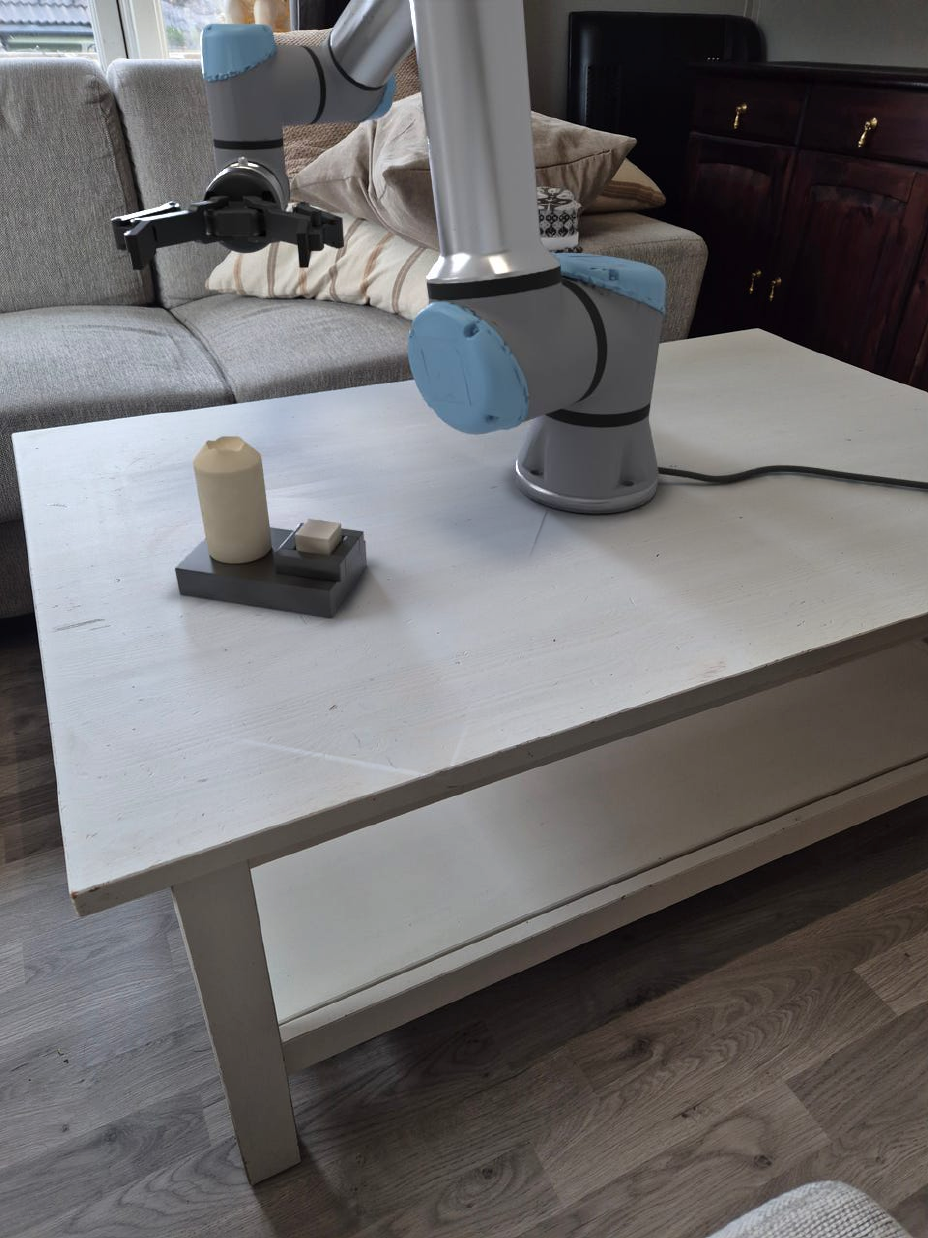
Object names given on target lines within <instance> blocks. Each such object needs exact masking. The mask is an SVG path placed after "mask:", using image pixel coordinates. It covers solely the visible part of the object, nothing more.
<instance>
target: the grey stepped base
mask: <svg viewBox="0 0 928 1238" xmlns="http://www.w3.org/2000/svg"><path fill="white" fill-rule="evenodd" d="M305 523H306V522H300V523H299V524H298V525H297V526H296V528H295V529H287V528H278V527H272V526H270V533H271V549H270V551H269V552H268V553H267V554H266V555H264V556H263V557H261V558H259V559H257V560H254V561H250V562H246V563H224V562H220V561H217V560H215V559H214V558H212V557H211V556H210V554H209V551H208V548H207V542H206V537H205V538H204V539H203V540H201V542H200V543H198V544H197V546H195V548H194V549H192V551H190V553H189V554H188V555H186V556H185V558H183V559H182V561H180V562H179V563H178V564H177V565H176V566H175V568H174V572H175V577H176V582H177V587H178V593H179V595H181V596H186V597H193V598H198V599H206V600H212V601H219V602H224V603H230V604H237V605H243V606H250V607H255V608H262V609H267V610H268V609H269V610H275V611H280V612H281V611H282V612H287V613H294V614H301V615H305V616H307V615H308V616H313V617H318V618H325V619H333V617H334V616H335V614H336V613H337V611H338V610H339V608H340V607H341V605H342V604H343V602H344V600H345V599H346V598H347V596H348V594H349V593H350V591H351V590H352V588H353V587H354V586H355V584H356V583H357V582H358V580H359V578H360V577H361V576H362V574H363V572H364V571H365V569H366V567H368V563H367V562H368V561H367V543H366V540H365V531H364V530H357V529H349V528H343V527H341V529H342V542H341V543H340V545H339V546H338V547H337V549H336V550H335V551H334V553H333V554H332V555H331V556H330V555H323V554H316V553H309V552H302V551H297V548H296V539H295V534H296V533H297V532H298V531H299V530H300V528H301V527H302V526H303V525H304V524H305Z"/></svg>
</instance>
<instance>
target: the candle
mask: <svg viewBox="0 0 928 1238" xmlns="http://www.w3.org/2000/svg"><path fill="white" fill-rule="evenodd" d="M262 459H263V458H262V454H261V452H259V451H258V450H257V449H255V448H254V447H253V446H252V445H251V444H249V443H248V442H246V441H244V439H242V438H241V436H238V435H234V436H232V435H231V436H229V435H224V436H219V437H218V438H216V439H215V440H206V441H205V443H204V444H203V446H202V447H201V449H200V450H199V452H197V454H196V455H195V456H194V458H193V459H192V464H193V466H192V467H193V472H194V478H195V484H196V489H197V495H198V501H199V506H200V507H199V508H200V512H201V518H202V525H203V531H204V536H205V538H206V542H207V548H208V551H209V554H210V556H211V557H212V558H214V559H215V560H217V561H220V562H224V563H246V562H250V561H254V560H257V559H259V558H261V557H263V556H264V555H266V554H267V553H268V552H269V551H270V549H271V533H270V527H271V526H270V524H271V523H270V518H269V517H270V516H269V508H268V501H267V492H266V484H265V476H264V475H265V474H264V468H263V460H262Z"/></svg>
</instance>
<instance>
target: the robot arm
mask: <svg viewBox="0 0 928 1238" xmlns="http://www.w3.org/2000/svg"><path fill="white" fill-rule="evenodd" d="M524 12H525V11H524V0H350V1H349V2H348V4H347V5H346V7H345V9H344V10H343V12H342V13H341V14H340V16H339V17H338V19H337V21H336V23H335V25H333V27H332V29H331V30H330V31H329V33H328V35H327V36H326V38H325V39H324V40H323V42H322V43H320V44H317V45H297V44H277V42H276V41H275V35H274V31H273V29H272V27H270V26H269V25H268V24H265V23H264V24H263V23H253V24H252V23H209V24H206V25H205V26H204V28H202V30H201V33H200V54H201V69H202V79H203V81H204V82H203V83H204V88H205V94H206V102H207V108H208V114H209V121H210V126H211V134H212V144H213V146H212V148H213V149H212V150H213V156H214V157H213V158H214V164H215V172H216V177H215V178H214V179H213V180H212V181H211V183H210V184H209V185H208V186H207V188H206V190H205V192H204V195H203V198H202V201H198V202H193V203H190V204H188V207H187V209H186V210H182V206H181V205H179V203H178V202H175V201H169V202H167V203H164V204H163V205H161V206H158V207H154V208H150V209H146V210H142V211H138V212H135V213H131V214H127V215H126V214H125V215H122V216H115V217H114V218H111V219H110V223H111V226H112V232H113V237H114V242H115V247H116V250H118V251H122V252H124V251H126V252H127V253H128V254H129V255H130V260H131V265H132V266H131V267H132V270H133V271H143V270H145V268H146V267H147V265H148V264H149V263H150V262H151V260H153V258H154V257H155V256H156V255H157V253H158V251H157V249H162V248H166V247H172V246H176V245H182V244H186V243H191V242H194V243H197V244H202V245H209V244H214V243H218V244H220V245H221V246H222V247H224V248H226V249H227V250H229V251H231V252H234V253H240V254H252V253H253V254H254V253H257V252H260V251H262V250H263V249H265V248H266V247H268V246H269V245H270V244H275V243H280V242H283V243H286V244H291V245H295V246H296V247H297V255H298V256H297V257H298V264H299V265H298V267H299V269H309V267H310V262H311V256H312V252H322V251H323V250H324V249H325V245H326V246H328V247H330V248H333V249H336V250H339V249H343V248H345V238H344V237H345V236H344V220H343V217H341V216H340V215H336V214H333V213H330V212H327V211H325V210H322V209H320V208H317V207H314V206H311V205H310V202H306V201H304V200H303V201H302V200H301V201H298V202H296V204H292V205H291V208H292V209H291V210H289V211H287V209H288V207H289V202H290V201H291V184H290V178H289V176H288V174H287V169H286V158H285V144H284V127H293V126H310V125H326V124H327V125H329V124H346V123H348V124H363V123H365V122H366V121H372V120H379V119H381V118H383V117H385V115H386V114H388V112H389V111H390V110H391V108H392V107H393V103H394V102H393V98H394V96H395V95H396V91H397V78H396V71H397V70H398V69H399V68H400V66H401V65H402V64H403V63H404V61H405V60H406V59H407V57H408V56H409V55H410V54H411V52H412V51H413V49H415V53H416V63H417V69H418V77H419V79H418V80H419V86H420V94H421V95H420V96H421V103H422V111H423V112H422V113H423V119H424V127H425V137H426V143H427V144H426V145H427V152H428V161H429V167H430V168H429V169H430V177H431V186H432V193H433V202H434V209H435V210H434V211H435V218H436V227H437V236H438V244H439V256H438V259H437V261H436V262H435V264H434V265H433V266H432V268H431V270H430V271H429V272H428V274H427V276H426V277H425V282H426V289H427V299H428V304H427V305H425V306H424V307H423V308H422V309H421V310H419V312H418V313H417V314H416V315H415V316H414V318H413V320H412V322H411V329H410V330H409V331H408V335H407V347H406V348H407V357H408V364H409V368H410V371H411V374H412V378H413V381H414V383H415V386H416V387H417V389H418V392H419V393H420V395H421V397H422V399H423V400H424V402H425V403H426V405H427V406H428V407H429V408H431V409H432V410H433V411H434V413H435V415H436V416H437V417H438V418H439V419H440V420H441V421H442V422H443V423H445V424H446V425H447V426H449V427H450V428H452V429H454V430H455V431H458V432H459V433H460V432H461V433H463V434H467V435H474V436H475V435H477V436H479V435H486V434H490V433H493V432H497V431H500V430H501V431H507V430H511V429H514V428H517V427H518V426H520V425H522V423H523V424H524V423H525V422H528V421H531V422H530V423H531V424H530V426H529V428H528V430H527V434H526V436H525V438H524V441H523V443H522V446H521V447H520V448H521V449H520V451H519V453H518V456H517V459H516V461H515V474H514V475H515V478H514V480H515V484H516V486H517V488H518V489H519V490H520V491H521V492H522V493H523V494H524V495H525V496H527V497H528V498H530V499H531V500H533V501H534V502H537V503H539V504H541V505H544V506H546V507H549V508H553V509H556V510H559V511H560V510H561V511H565V512H570V513H578V514H579V513H580V514H597V515H598V514H612V513H613V514H614V513H620V512H625V511H630V510H632V509H635V508H638V507H641V506H642V505H644V504H646V503H648V502H649V501H650V500H651V499H652V498H653V497H654V496H655V494H656V491H657V490H658V489H657V487H658V481H659V475H665V476H671V477H672V476H673V477H678V478H686V479H691V480H696V481H699V482H705V483H713V484H714V483H717V484H718V483H719V484H720V483H730V482H736V481H740V480H745V479H748V478H751V477H754V476H758V475H762V474H768V473H769V474H771V473H797V474H799V473H800V474H807V475H808V474H809V475H815V476H821V477H829V478H835V479H840V480H841V479H842V480H850V481H857V482H865V483H872V484H873V483H874V484H881V485H889V486H897V487H905V488H912V489H920V490H928V482H927V481H919V480H911V479H903V478H895V477H887V476H879V475H873V474H872V475H871V474H864V473H854V472H847V471H840V470H835V469H834V470H833V469H828V468H826V469H825V468H822V467H821V468H820V467H813V466H806V465H805V466H804V465H791V464H775V465H774V464H773V465H765V466H760V467H755V468H752V469H748V470H745V471H741V472H737V473H732V474H724V475H711V474H704V473H700V472H695V471H690V470H685V469H677V468H672V467H671V468H669V467H664V466H659V465H658V460H657V455H656V450H655V445H654V439H653V434H652V430H651V424H650V411H651V405H652V399H653V392H654V385H655V377H656V370H657V365H658V364H657V363H658V355H659V349H660V343H661V336H662V328H663V322H664V317H665V315H666V313H667V309H666V307H665V306H666V305H665V304H666V291H667V280H666V277H665V276H664V274H663V273H662V271H661V270H660V269H658V268H657V267H655V266H652V265H650V264H647V263H644V262H640V261H636V260H631V259H626V258H620V257H614V256H609V255H601V254H593V253H583V252H582V253H556V254H552V253H551V252H550V251H549V250H547V249H546V248H545V247H544V245H543V244H542V242H541V237H540V224H539V211H538V197H537V187H538V186H537V185H538V184H537V172H536V160H535V159H536V158H535V145H534V133H533V131H534V130H533V120H532V119H533V118H532V104H531V94H530V93H531V92H530V79H529V67H528V65H529V64H528V54H527V53H528V52H527V39H526V28H525V27H526V26H525V13H524Z"/></svg>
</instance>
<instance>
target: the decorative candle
mask: <svg viewBox="0 0 928 1238" xmlns="http://www.w3.org/2000/svg"><path fill="white" fill-rule="evenodd" d="M537 197H538V211H539V224H540V237H541V242H542V244H543V245H544V247H545V248H546V249H547V250H549V251H550V252H551V253H552V254H556V253H583V251H584V249H583V247H582V246H581V245H580V244H579V235H580V234H579V231H578V226H579V217H580V216H579V215H580V213H579V212H580V207H582V204H581V203H579V202H577V200H576V197H575V195H574V194H573V192H571V191H570V190H569V189H567V188H563V187H554V186H537Z"/></svg>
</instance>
